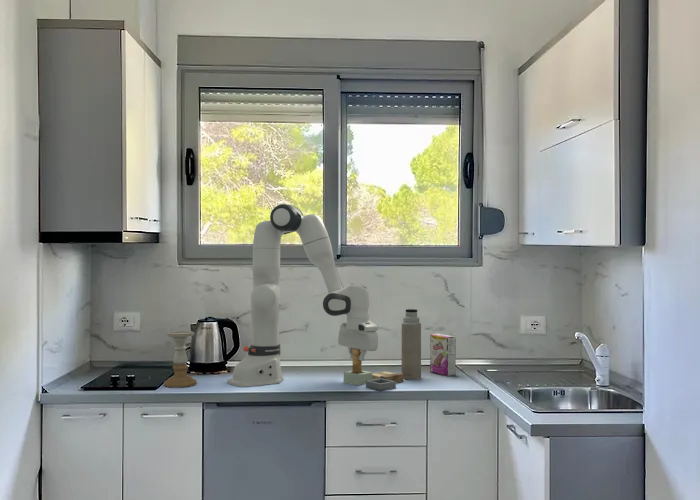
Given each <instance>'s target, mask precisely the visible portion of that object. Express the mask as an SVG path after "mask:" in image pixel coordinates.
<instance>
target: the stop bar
mask: <svg viewBox="0 0 700 500" xmlns="http://www.w3.org/2000/svg"><path fill="white" fill-rule="evenodd" d="M380 378H382V379H387V380H391V381H396V384H399V383H404V382H405V379H404V374H402V372H401V373H400V372H396V373H395V374H389V375H383V376H380Z"/></svg>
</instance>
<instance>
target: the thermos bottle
mask: <svg viewBox="0 0 700 500" xmlns="http://www.w3.org/2000/svg"><path fill="white" fill-rule="evenodd" d="M420 320H421V319H420V317H419V316H418V309H414V308H408V309H405V315H404V317H403V318H402V321H403V322H401V373H402V374H404V380H420V379H421V378H422V323H421V322H420Z"/></svg>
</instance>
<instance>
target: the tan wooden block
mask: <svg viewBox="0 0 700 500" xmlns="http://www.w3.org/2000/svg"><path fill="white" fill-rule="evenodd" d="M389 374H395V373H394V372H389V371H381V372H374V373H373V372H372V380H374V379H380V376H383V375H389Z"/></svg>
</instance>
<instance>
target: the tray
mask: <svg viewBox="0 0 700 500" xmlns="http://www.w3.org/2000/svg"><path fill="white" fill-rule="evenodd" d="M396 385H397V383H396V381H391V380H387V379H382V378H380V379H374V380H369V381H366V384H365V388H366V389H370V390H373V391H378V392H383V391H387V390H392V389H396V387H397V386H396Z"/></svg>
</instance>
